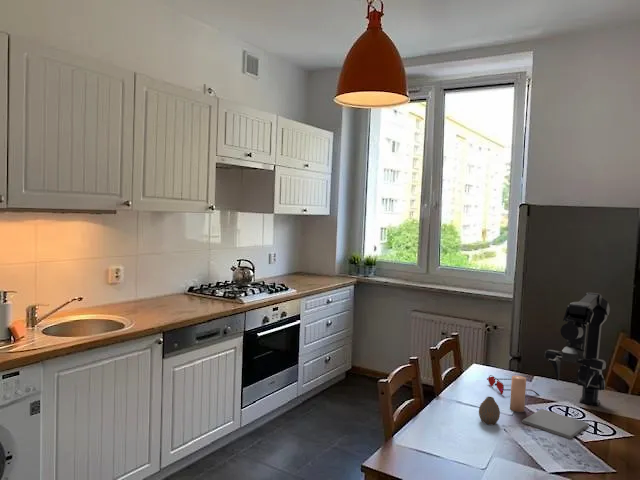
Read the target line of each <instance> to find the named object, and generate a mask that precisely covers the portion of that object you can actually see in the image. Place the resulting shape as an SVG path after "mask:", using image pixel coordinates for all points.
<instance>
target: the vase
mask: <svg viewBox="0 0 640 480" xmlns="http://www.w3.org/2000/svg"><path fill="white" fill-rule="evenodd" d="M478 417H479V418H480V421H482V423H484V425H485V424H486V425H489V426H493V425H495V424H497V422H498V421H499V419H500V417H501V410H500V407H499V405H498V404H497V402H496V401H495V398H494V397H493V396H486V397H485V398H484V400H483V401H482V402H481V403H480V405H479V407H478Z"/></svg>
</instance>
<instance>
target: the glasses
mask: <svg viewBox="0 0 640 480" xmlns="http://www.w3.org/2000/svg"><path fill="white" fill-rule="evenodd" d="M486 380H487V381H488V383H489V385H490V387H493V386H496V388H497V390H498V392H500V394H501V395H503V393H504V391H511V388H510V389H509V388H508V389H505V387H504V386H505V385H504V383H503V382H502V380H504V381H505V380H511V381H512V378H497V377H495V376H494V375H492V374H490V375H488V377H486ZM500 380H501V381H500ZM529 391H530V392H531V391H532V392H533V393H535V395H537V396H540V393H538V392H536V391H535V390H533V389H529Z"/></svg>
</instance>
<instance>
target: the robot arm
mask: <svg viewBox="0 0 640 480" xmlns="http://www.w3.org/2000/svg"><path fill="white" fill-rule="evenodd" d="M584 295H585V296H583V298H581V299H580V300H579V301H573V302H570V303H569V304H568V305H567V306H566V310H565V314H564V317H563V322H567V323H565V324H563V325H562V326H561V328H560V335H561V336H562V338H564V339H565V340H566V343H565V346H564V347H563V349H562V350H561V351H559V350H554V349H547V350H545V352H544V353H543V354H544V356H543V359H547V361H548V362H550V363H551V365H552V367H553V370H554V373H555V377H556V381H557V382H558V381H560V376H561V362H562V361H564V362H571V363H573V364H574V363H575V364H576V363H578V364H581V365H580V366H579V369H578V371H577V377H576V379H577V381H576V382H577V386H581V387H582V388H581V397H580V399H579V401H578V402H579V403H581V404H587V405H591V406H596V407H599V404H600V402H601V401H600V400H599V392H600V391H605V390H606V388H605V387H606V382H605V378H604V375H603V370H605V369H606V367H607V366H606V365H607V362H606V361H605V360H604V359H600V358H599V356H600V348H601V347H600V346H601V339H602V338H601V336H602V335H601V334H602V326H603V324H604V323H605V322H606V321H607V320H608V316H609V314H610V311H611V307H610V304H609V302H608V301H607V300H606V299H605V298H604V297H603V296H602V294H600V293H597V292H596V293H595V292H586V293H585V294H584ZM587 326H588V327H587ZM586 340H587V341H586Z"/></svg>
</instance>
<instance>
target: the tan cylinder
mask: <svg viewBox="0 0 640 480" xmlns="http://www.w3.org/2000/svg"><path fill="white" fill-rule="evenodd" d="M511 379H512V380H511V385H510V386H511V387H510V389H511V390H510V401H509V409H510V410H511V411H512V412H517V413H524V412H525V408H526V407H525V406H526V405H525V404H526V392H527V377H524V376H523V375H512V376H511Z"/></svg>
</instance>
